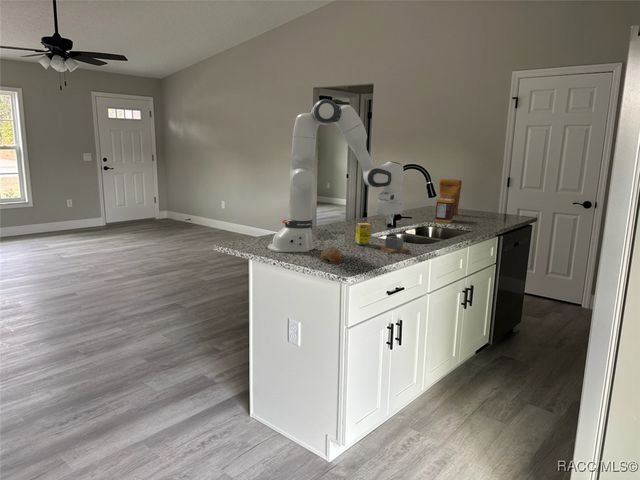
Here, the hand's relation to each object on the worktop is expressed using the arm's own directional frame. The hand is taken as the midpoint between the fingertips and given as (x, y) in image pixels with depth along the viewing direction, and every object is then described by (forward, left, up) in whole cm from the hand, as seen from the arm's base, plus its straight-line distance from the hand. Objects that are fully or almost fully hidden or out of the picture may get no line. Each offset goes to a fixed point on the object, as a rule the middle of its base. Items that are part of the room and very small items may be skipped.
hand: (389, 223), depth 228 cm
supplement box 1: (-7, +14, -14) cm, 20 cm away
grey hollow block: (+2, -2, -12) cm, 12 cm away
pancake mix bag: (+115, +99, -14) cm, 152 cm away
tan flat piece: (+2, -2, -13) cm, 14 cm away
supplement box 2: (+92, +74, -14) cm, 119 cm away
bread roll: (-37, -14, -14) cm, 42 cm away
